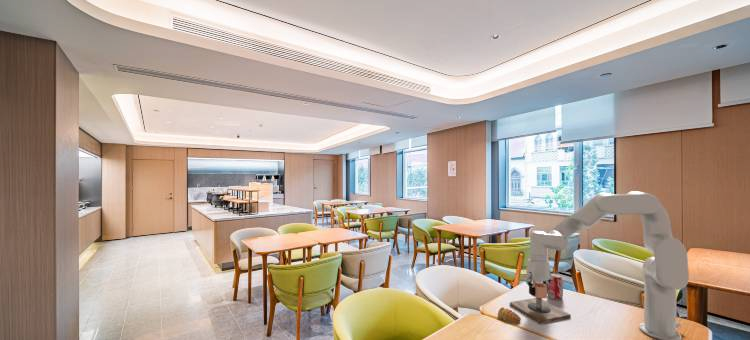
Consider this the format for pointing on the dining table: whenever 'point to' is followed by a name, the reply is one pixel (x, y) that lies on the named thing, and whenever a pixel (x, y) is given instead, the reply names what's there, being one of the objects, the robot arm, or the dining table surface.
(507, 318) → the brown ridged oval piece
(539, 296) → the ring
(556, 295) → the soda can
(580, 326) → the dining table surface
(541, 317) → the post stand
